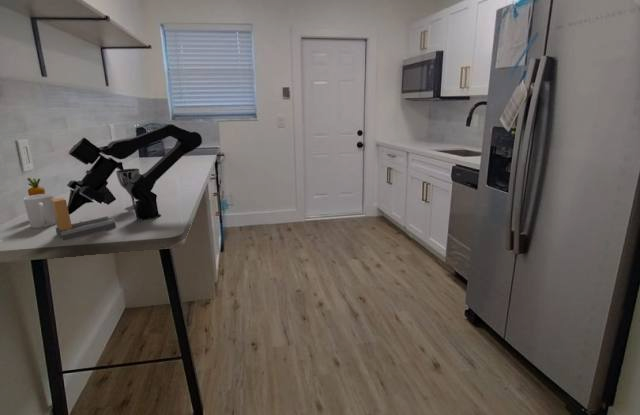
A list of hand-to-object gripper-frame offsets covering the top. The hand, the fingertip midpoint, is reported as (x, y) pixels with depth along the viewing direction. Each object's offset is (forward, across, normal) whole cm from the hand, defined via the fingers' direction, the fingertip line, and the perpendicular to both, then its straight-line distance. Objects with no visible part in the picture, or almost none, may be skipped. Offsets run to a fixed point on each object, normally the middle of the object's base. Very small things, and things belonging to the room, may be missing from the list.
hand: (68, 213), depth 117 cm
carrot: (+6, +34, -4) cm, 35 cm away
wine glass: (-13, +17, -23) cm, 31 cm away
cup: (+8, +19, -2) cm, 20 cm away
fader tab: (+5, 0, -2) cm, 5 cm away
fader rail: (+2, 0, -8) cm, 8 cm away
